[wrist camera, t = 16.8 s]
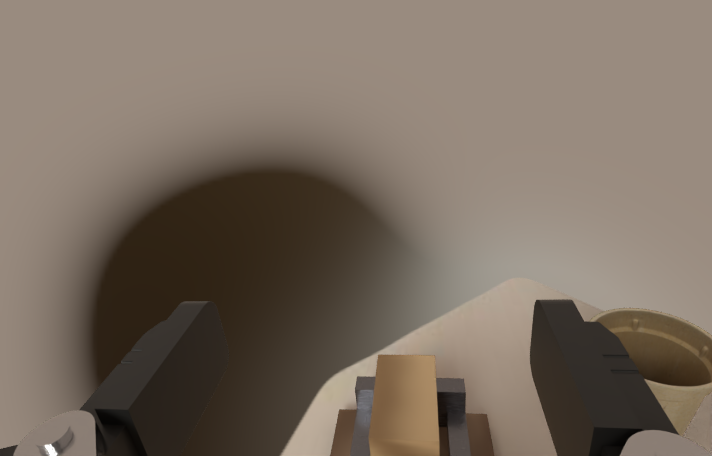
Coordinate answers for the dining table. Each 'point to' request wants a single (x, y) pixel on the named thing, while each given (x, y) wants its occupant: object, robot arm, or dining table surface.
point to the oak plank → (404, 407)
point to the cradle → (456, 428)
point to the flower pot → (666, 358)
